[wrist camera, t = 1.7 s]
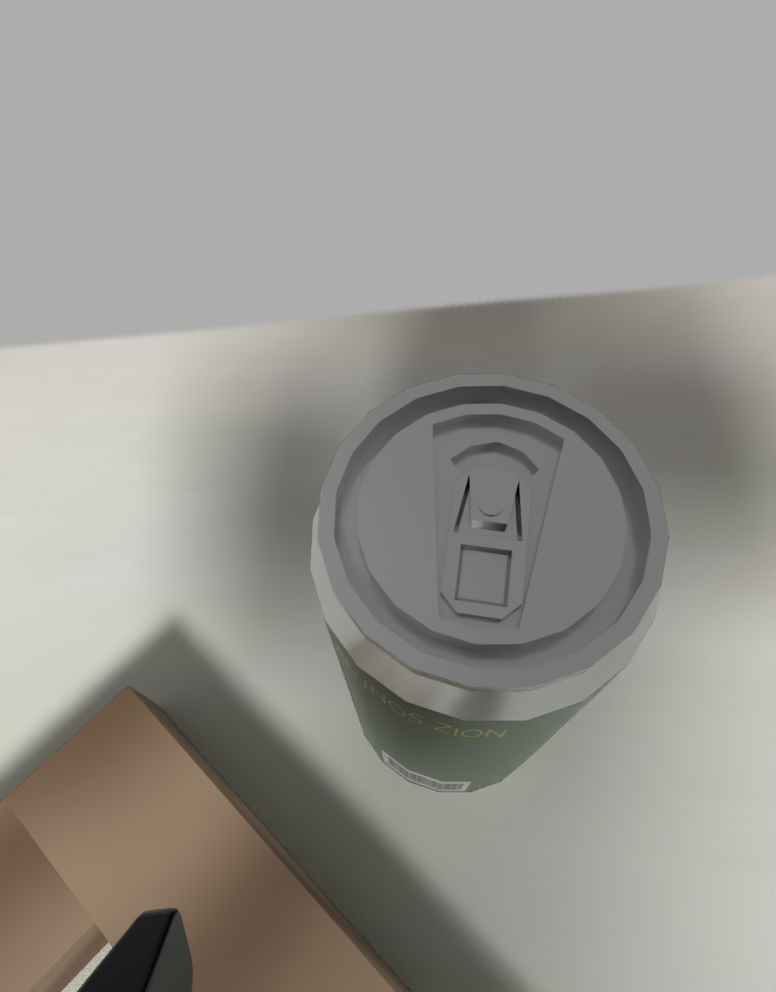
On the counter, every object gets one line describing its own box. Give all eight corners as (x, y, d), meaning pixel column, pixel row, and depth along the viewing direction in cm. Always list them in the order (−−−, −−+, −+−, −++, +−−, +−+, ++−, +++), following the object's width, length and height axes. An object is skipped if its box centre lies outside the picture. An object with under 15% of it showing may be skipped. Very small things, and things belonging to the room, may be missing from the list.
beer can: (537, 811, 19) (692, 740, 9) (341, 778, 20) (259, 672, 9) (548, 620, 22) (681, 381, 11) (374, 595, 22) (339, 344, 12)
